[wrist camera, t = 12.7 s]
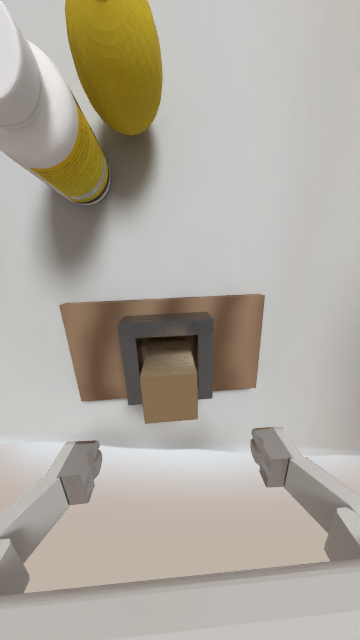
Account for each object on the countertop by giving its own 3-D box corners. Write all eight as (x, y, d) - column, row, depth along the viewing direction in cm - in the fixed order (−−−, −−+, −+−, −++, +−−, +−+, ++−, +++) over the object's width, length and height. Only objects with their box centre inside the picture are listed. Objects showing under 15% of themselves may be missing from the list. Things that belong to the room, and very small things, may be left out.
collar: (206, 311, 19) (213, 318, 17) (206, 381, 22) (212, 398, 19) (124, 315, 19) (116, 324, 16) (133, 386, 21) (128, 405, 19)
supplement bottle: (121, 159, 16) (57, 5, 7) (100, 217, 17) (20, 155, 8) (62, 123, 15) (-111, -119, 6) (43, 187, 16) (-125, 73, 7)
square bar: (185, 333, 20) (197, 373, 12) (186, 364, 21) (197, 419, 13) (150, 335, 20) (140, 377, 12) (153, 367, 21) (145, 423, 13)
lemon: (152, 168, 16) (140, 78, 9) (93, 140, 16) (21, 15, 8) (171, 96, 15) (176, -81, 8) (108, 62, 14) (39, -178, 7)
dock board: (259, 293, 21) (264, 295, 19) (251, 382, 24) (255, 387, 23) (65, 303, 19) (59, 305, 18) (86, 394, 23) (81, 401, 21)
